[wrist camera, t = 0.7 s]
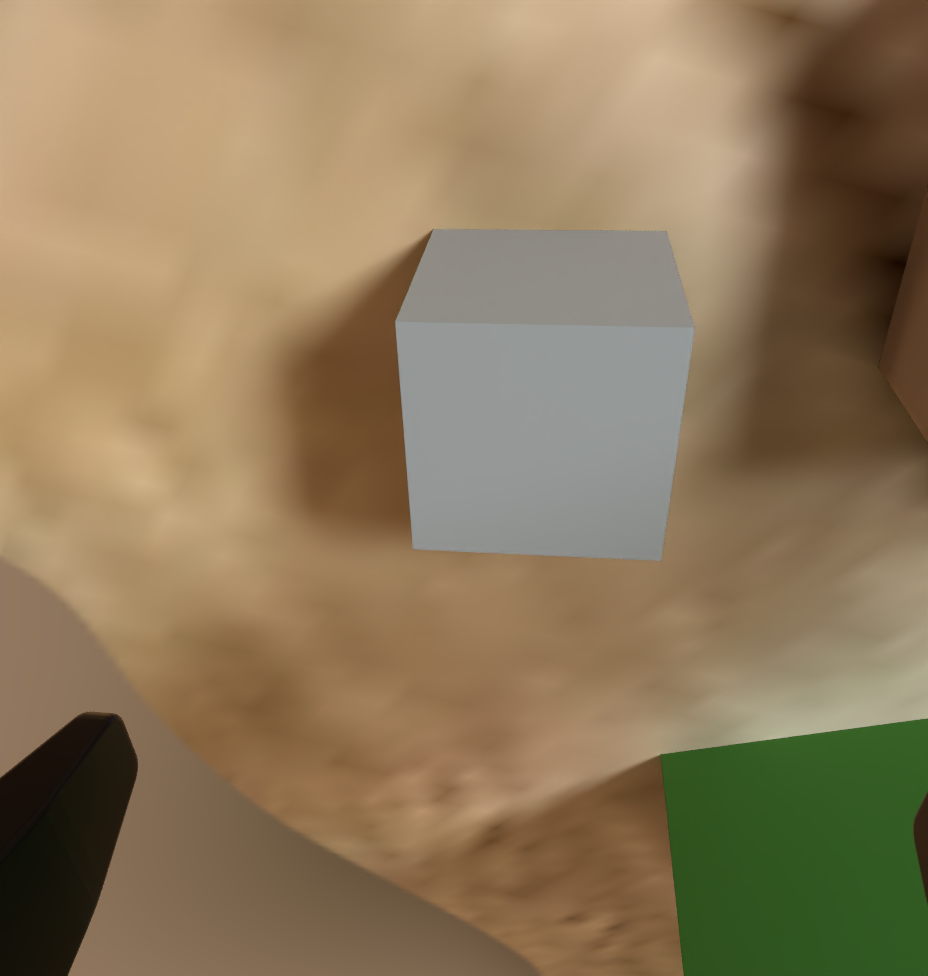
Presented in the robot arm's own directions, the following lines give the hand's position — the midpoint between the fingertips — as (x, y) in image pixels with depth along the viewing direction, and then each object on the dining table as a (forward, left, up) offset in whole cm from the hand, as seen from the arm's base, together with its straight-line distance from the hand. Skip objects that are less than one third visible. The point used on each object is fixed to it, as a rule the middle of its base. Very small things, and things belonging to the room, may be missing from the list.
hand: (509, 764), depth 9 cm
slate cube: (0, 0, -12) cm, 12 cm away
